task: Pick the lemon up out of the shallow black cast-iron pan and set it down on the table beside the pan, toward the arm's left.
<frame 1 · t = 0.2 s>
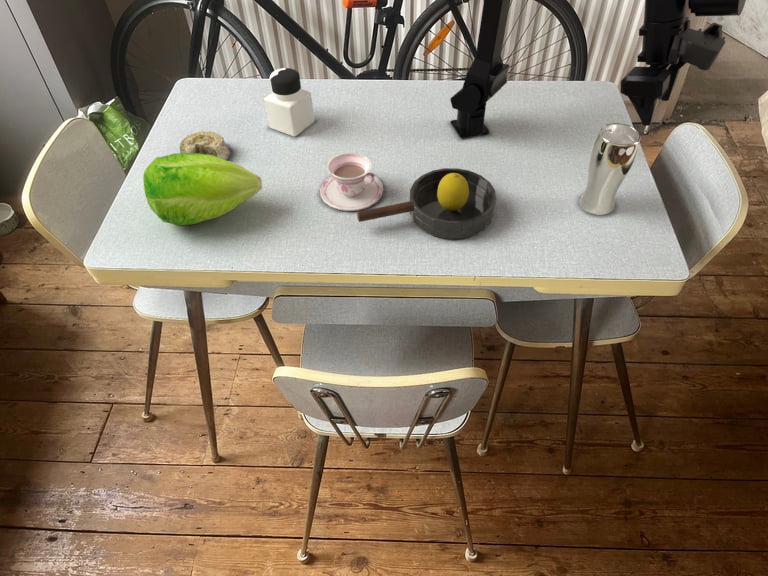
hand: (656, 112, 97), 15 cm above the table, tool pointing down, fingers open, 9 cm apart
pan: (451, 211, 104), on the table
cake: (205, 157, 118), on the table
lemon: (451, 210, 104), resting on pan
lettuce: (212, 214, 106), on the table
medicine bottle: (292, 125, 125), on the table
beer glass: (596, 205, 105), on the table
teacup: (352, 192, 109), on the table
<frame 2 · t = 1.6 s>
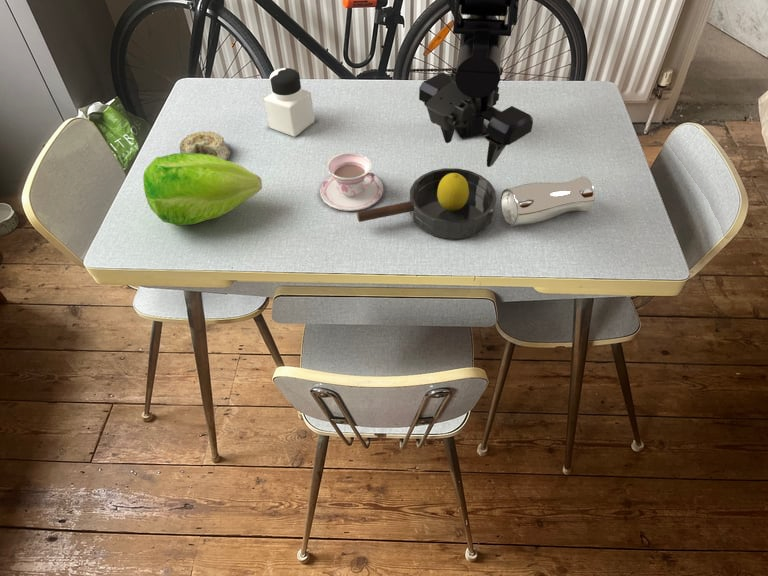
hand: (468, 153, 94), 13 cm above the table, tool pointing down, fingers open, 9 cm apart
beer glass: (586, 193, 102), point 3 cm above the table
everything else where it was.
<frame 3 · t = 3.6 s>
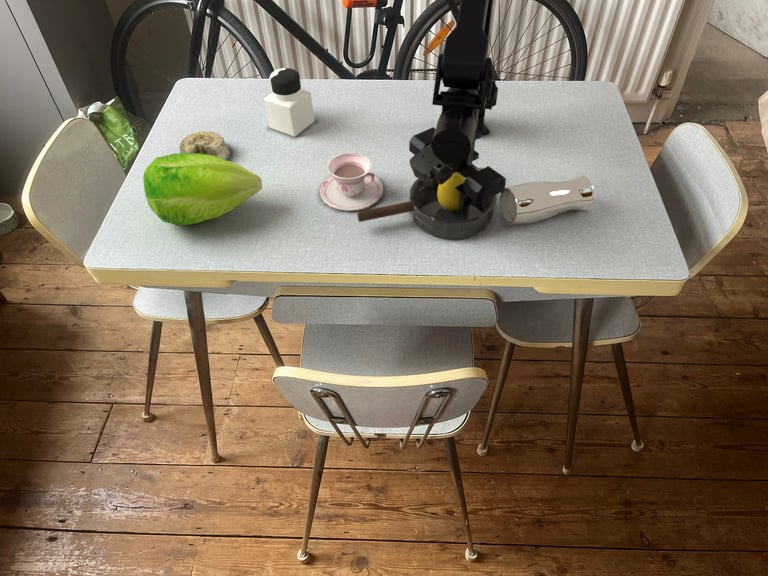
hand: (452, 201, 103), 2 cm above the table, tool pointing down, fingers closed on lemon, 5 cm apart
lemon: (451, 210, 104), resting on pan, touching gripper
everything else where it was.
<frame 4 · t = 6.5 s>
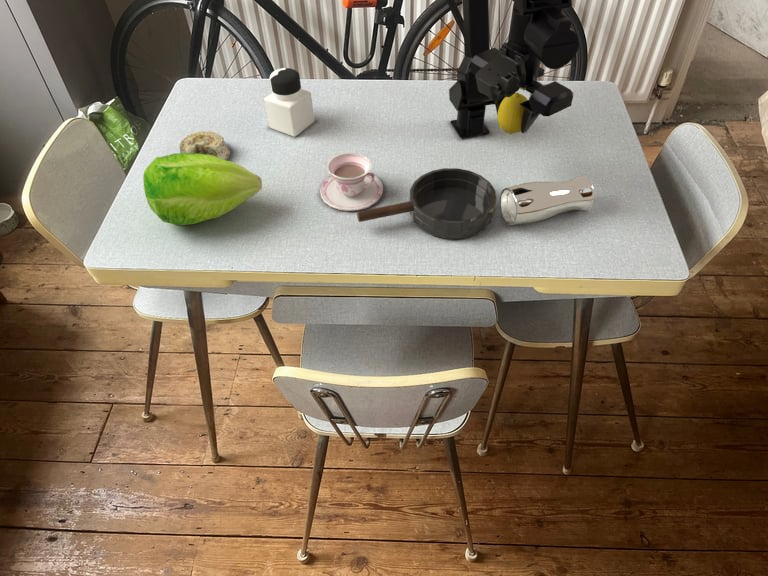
hand: (511, 124, 102), 12 cm above the table, tool pointing down, fingers closed on lemon, 5 cm apart
lemon: (510, 134, 103), point 10 cm above the table, touching gripper
everything else where it was.
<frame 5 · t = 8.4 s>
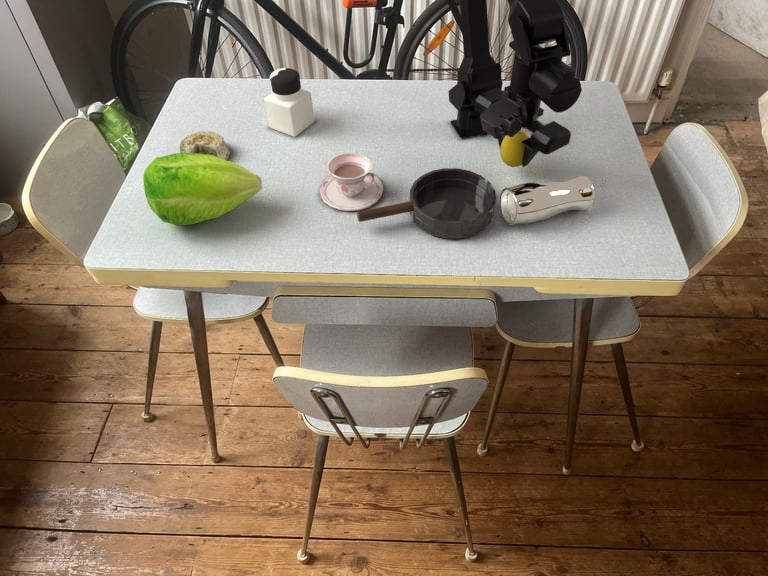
hand: (513, 158, 109), 3 cm above the table, tool pointing down, fingers closed on lemon, 5 cm apart
lemon: (512, 167, 110), point 1 cm above the table, touching gripper
everything else where it was.
when the fingers open (2 cm above the table, at t = 9.4 s): lemon stays where it is, on the table.
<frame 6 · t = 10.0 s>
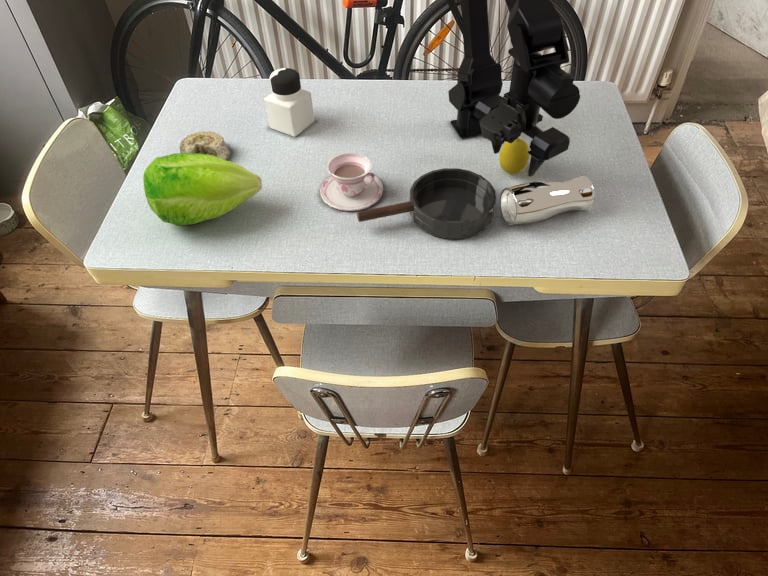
hand: (513, 164, 110), 2 cm above the table, tool pointing down, fingers open, 9 cm apart
lemon: (510, 174, 112), on the table
everything else where it was.
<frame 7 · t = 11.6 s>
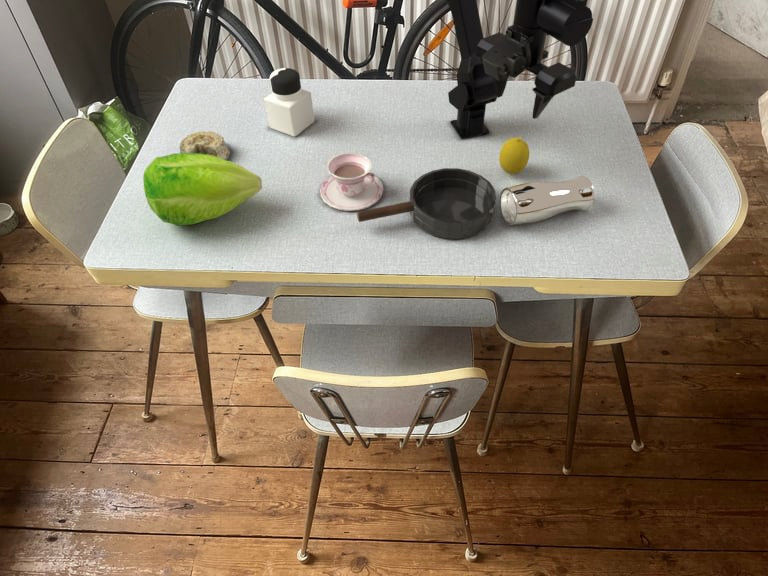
hand: (516, 107, 105), 12 cm above the table, tool pointing down, fingers open, 9 cm apart
nothing on the table moved.
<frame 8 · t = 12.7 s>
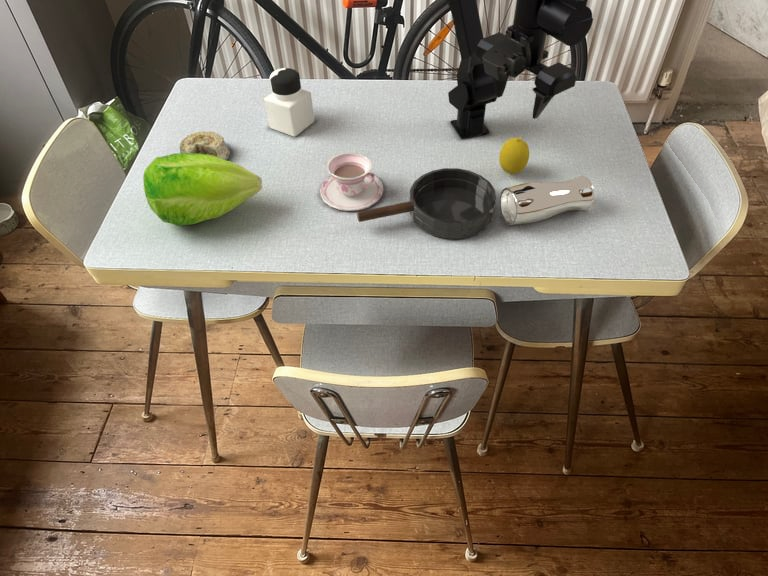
hand: (516, 107, 105), 12 cm above the table, tool pointing down, fingers open, 9 cm apart
nothing on the table moved.
at the end: lemon inside the target area (0.1 cm from its centre), on the table; lemon touching table; the gripper is holding nothing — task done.
